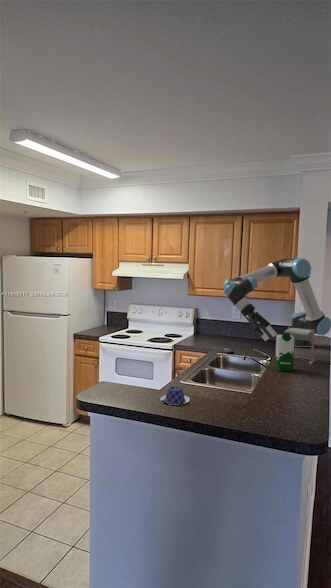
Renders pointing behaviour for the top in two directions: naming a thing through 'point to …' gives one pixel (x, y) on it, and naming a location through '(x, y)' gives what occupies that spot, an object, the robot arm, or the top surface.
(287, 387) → the top surface
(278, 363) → the soya milk
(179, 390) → the pudding
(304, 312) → the robot arm
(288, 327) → the trapdoor stand
